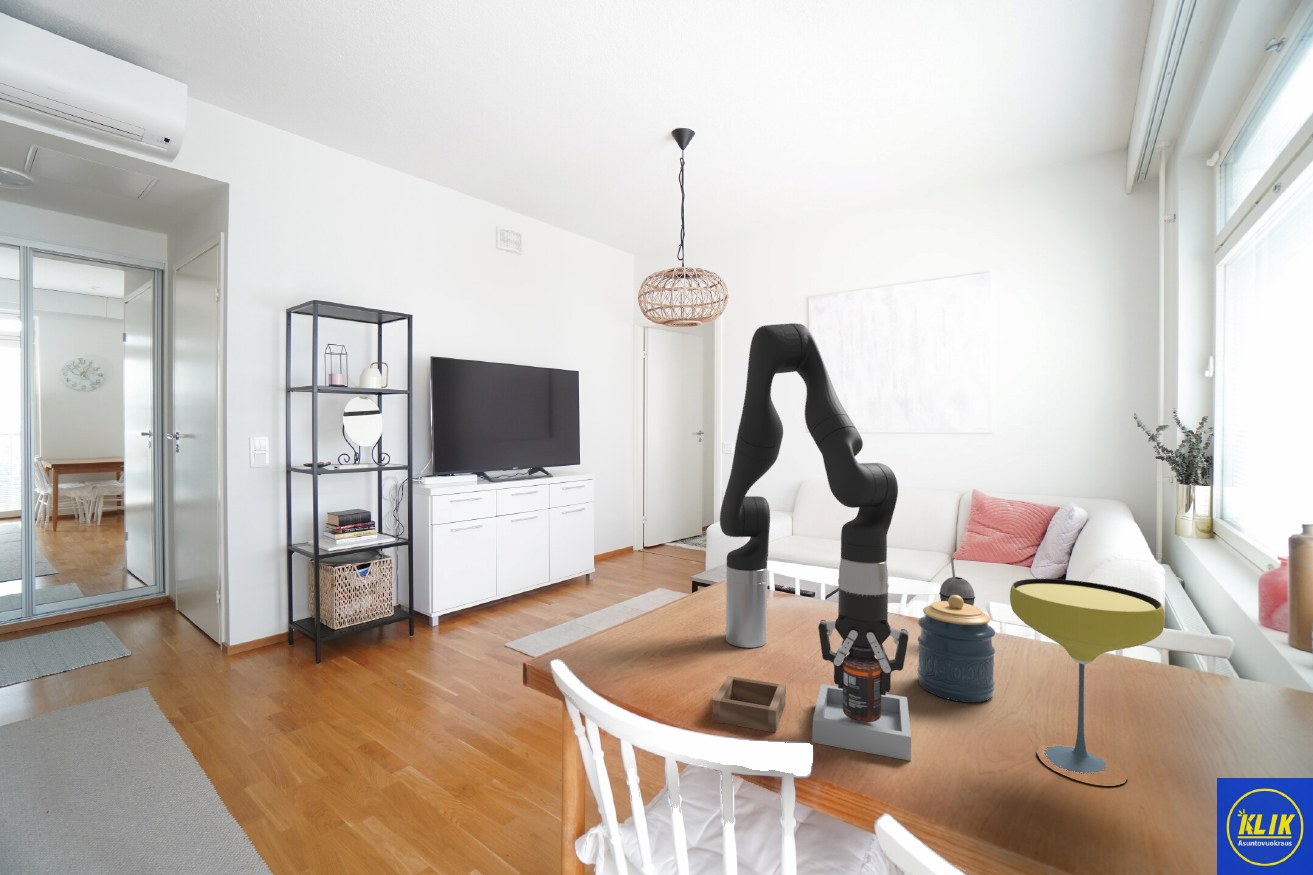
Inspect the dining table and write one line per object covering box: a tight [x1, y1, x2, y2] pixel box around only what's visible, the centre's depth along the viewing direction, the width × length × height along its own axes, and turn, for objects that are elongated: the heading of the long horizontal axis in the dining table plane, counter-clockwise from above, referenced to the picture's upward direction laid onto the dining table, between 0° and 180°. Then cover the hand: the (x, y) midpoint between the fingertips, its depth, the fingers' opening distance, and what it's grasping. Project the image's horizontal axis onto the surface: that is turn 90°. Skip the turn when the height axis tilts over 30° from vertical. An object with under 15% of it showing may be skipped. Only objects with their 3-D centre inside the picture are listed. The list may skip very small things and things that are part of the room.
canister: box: [917, 595, 996, 703], centre depth 111 cm, size 13×13×18 cm
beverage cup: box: [939, 557, 976, 606], centre depth 133 cm, size 7×7×20 cm
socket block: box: [712, 675, 787, 733], centre depth 101 cm, size 10×10×4 cm
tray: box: [812, 683, 912, 762], centre depth 95 cm, size 14×14×4 cm
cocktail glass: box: [1009, 578, 1166, 774], centre depth 86 cm, size 18×18×25 cm
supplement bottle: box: [843, 647, 881, 722], centre depth 95 cm, size 6×6×11 cm
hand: (861, 689), depth 95 cm, fingers closed on supplement bottle, 6 cm apart
